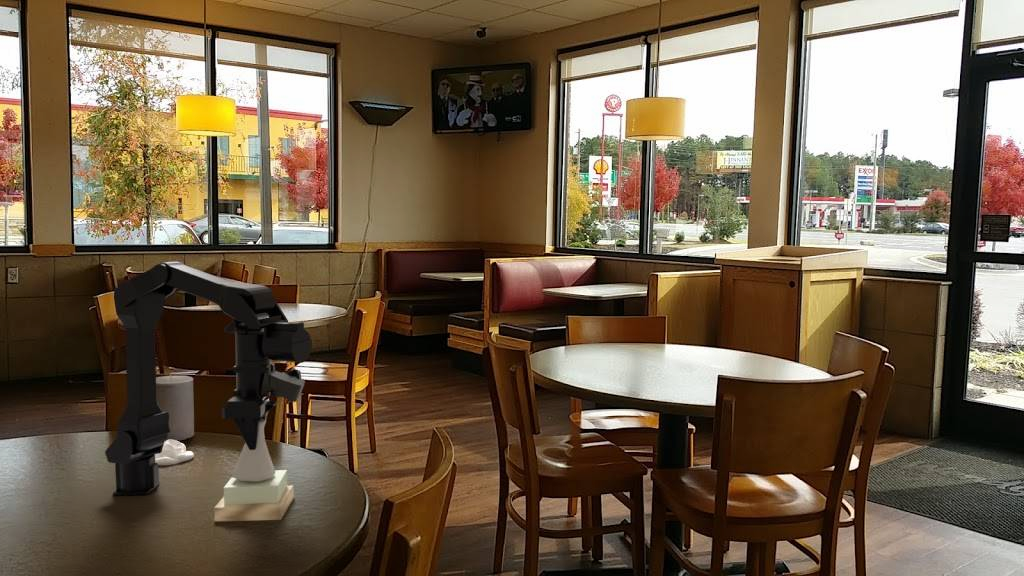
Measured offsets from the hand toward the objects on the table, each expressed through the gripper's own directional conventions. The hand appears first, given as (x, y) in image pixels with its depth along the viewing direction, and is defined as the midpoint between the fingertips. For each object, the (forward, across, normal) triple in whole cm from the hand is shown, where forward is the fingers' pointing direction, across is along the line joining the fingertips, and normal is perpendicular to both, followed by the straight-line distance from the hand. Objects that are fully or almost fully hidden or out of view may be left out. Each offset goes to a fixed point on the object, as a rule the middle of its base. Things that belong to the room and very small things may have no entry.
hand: (255, 446), depth 143 cm
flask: (+6, 0, 0) cm, 6 cm away
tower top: (+9, 0, 0) cm, 9 cm away
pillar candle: (+12, +51, +31) cm, 61 cm away
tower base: (+12, 0, 0) cm, 12 cm away
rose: (+12, +32, +25) cm, 43 cm away
